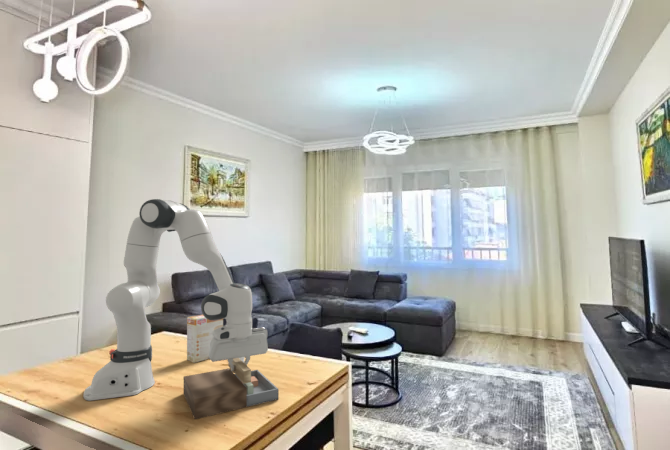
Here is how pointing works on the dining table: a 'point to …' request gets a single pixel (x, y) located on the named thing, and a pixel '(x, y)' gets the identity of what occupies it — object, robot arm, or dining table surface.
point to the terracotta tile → (253, 381)
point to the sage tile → (249, 387)
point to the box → (262, 390)
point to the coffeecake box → (200, 337)
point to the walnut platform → (214, 393)
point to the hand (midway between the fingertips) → (238, 369)
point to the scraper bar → (241, 370)
